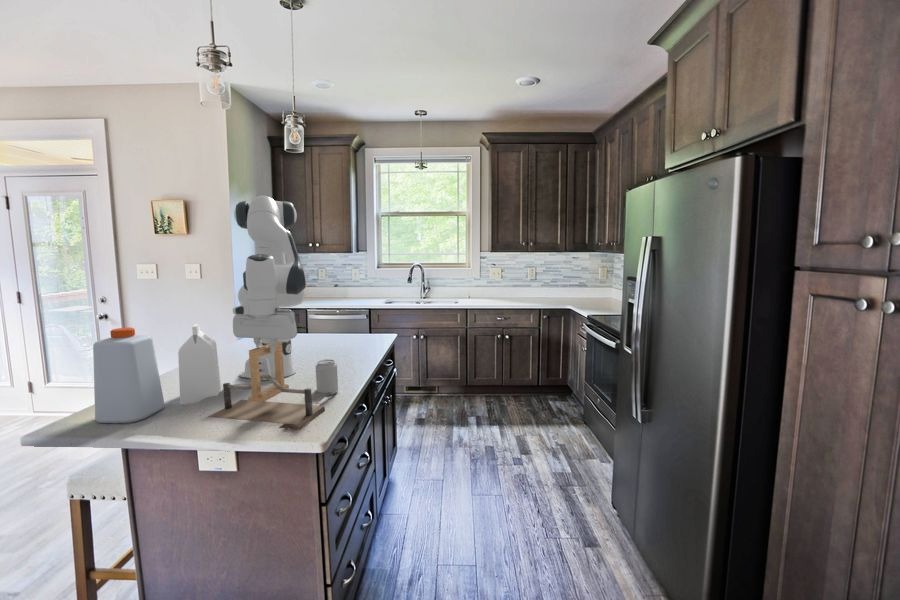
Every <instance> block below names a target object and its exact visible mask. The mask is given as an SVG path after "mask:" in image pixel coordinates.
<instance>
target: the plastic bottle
mask: <svg viewBox="0 0 900 600" xmlns="http://www.w3.org/2000/svg"><path fill="white" fill-rule="evenodd" d="M109 333H110V336H109V337H108V338H103V339H99V340H97V341H95V342H94V343H93V346H92V348H93V350H92V352H93V354H92V355H93V384H94V385H93V388H94V389H93V391H94V419H95V421H96V422H97V423H99V424H131V423H135V422H139V421H142V419H143V420H145V419H146V418H149V417H150V416H152V415H154V414H155V413H158V412H159V411H161V410H163V408H165V400H164V399H165V398H164V394H163V389H162V384H161V383H162V382H161V378H160V373H159V367H158V363H157V357H156V351H155V345H154V340H153V338H152V336H151V335H149V334H136V331H135V328H134V327H118V328H112V329H111V330H110V331H109Z"/></svg>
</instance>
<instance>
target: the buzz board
mask: <svg viewBox="0 0 900 600" xmlns="http://www.w3.org/2000/svg"><path fill="white" fill-rule="evenodd" d="M263 378H264V379H268V381H269V382H270V383H271V384H272V385H275V386H276V387H277V388H278V389H279V390H280V391H282V392H281V393H291V394H304V403H303V404H302V403H289V402H278V401H268V400H266V401H264V402H251V401H248V399H240V400H238V401H237V402H234V403H232V391H231V389H233V390H234V389H235V390H248V391H252V390H251V384H249V385H242V384H241V385H239V384H231V383H230V382H224V383H223V384H222V388H223V389H222V390H223V402H224V408H222V409H220V410H218V411H216V412H214V413H212V414H210V415H208V416H207V418H208V417H209V418H219V419H229V420H231V419H232V420H240V421H242V420H243V421H253V422H263V423H273V424H274V423H275V424H282V425H280V426H279V427H278V429H287V428H290V429H289V430H297V429H299V430H300V429H301V428H303V427H304V426H306V425H307V424H308V423H310V422H311V421H312V420H314V419H315V418H317V417H318V416H320V415H321V414H322V413H323V412H325V411H326V409H325V407H326V406H325V405H315V404H313V398H312V397H313V396H312V395H313V394H312V393H313V392H312V388H310V387H309V388H304V389H298V388H288V389H287V388H283V387H282V386H281V385H280V384H279V383H278V382H277V381H276V379H275V378H274V379H273V378H272V377H271V376H270V375H261V376H260V382H262V381H263V380H262V379H263ZM316 416H317V417H316ZM313 418H314V419H313ZM309 421H310V422H309ZM305 424H306V425H305Z"/></svg>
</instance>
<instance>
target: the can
mask: <svg viewBox="0 0 900 600" xmlns="http://www.w3.org/2000/svg"><path fill="white" fill-rule="evenodd" d="M338 377H339V376H338V364H337V362H336V360H335V359H330V358H327V359H320V360H318V361H317V362H316V365H315V382H316V392H318V393H322V394H325V393H326V394H327V393H328V394H327V395H326V397H327V396H328V397H330V396H333V395H336V393H337V392H338V391H339V381H338V380H339V378H338ZM329 395H330V396H329Z"/></svg>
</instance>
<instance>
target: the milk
mask: <svg viewBox="0 0 900 600" xmlns="http://www.w3.org/2000/svg"><path fill="white" fill-rule="evenodd" d="M191 328H192V330H191V331H192V335H191V336H190V337H189V338H188V339H187V340H186V341H184V343H183V344H182V345H181V346H180V347H179V348H178V353H177V354H178V357H177V358H178V380H179V382H178V383H179V405H181V404H182V405H188V404H187V403H189V404H196V403H198V402H200V401H203V400H205V399H207V398H210V397H216V396H217V397H218V396H219V394H220V392H221V391H222V390H223V389H222V382H221V381H222V380H221V373H220V365H219V357H218V347H217V341H215V340H214V339H213V337H212V336H210V335H209V334H208V333H206V332H203V331H201V326H200V323H195V324H193V325H192V327H191ZM221 393H222V392H221ZM195 402H196V403H195Z"/></svg>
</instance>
